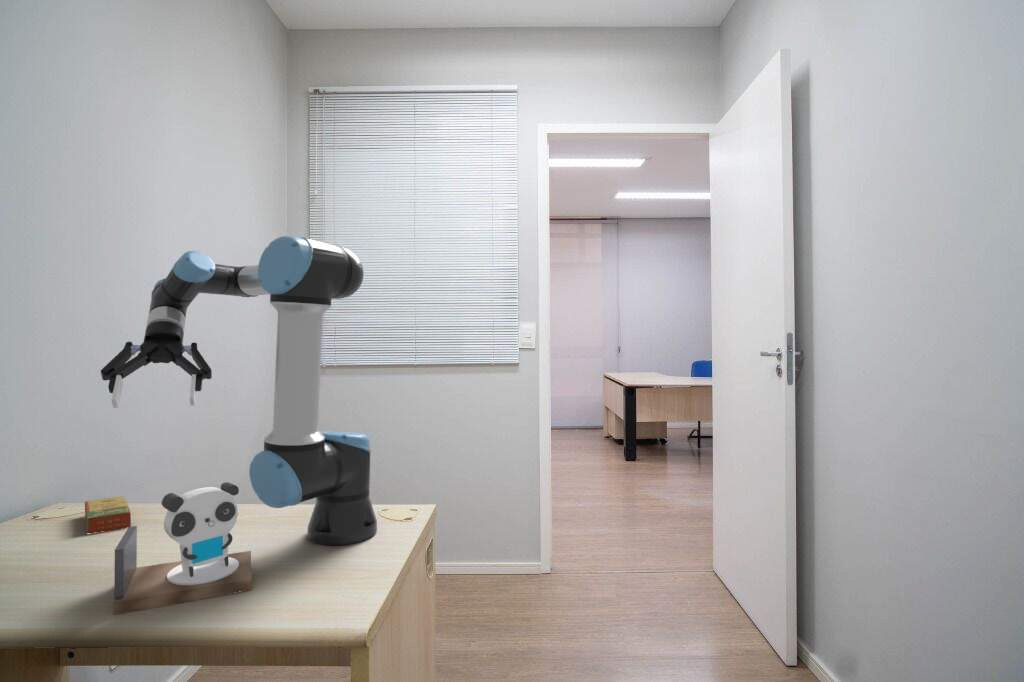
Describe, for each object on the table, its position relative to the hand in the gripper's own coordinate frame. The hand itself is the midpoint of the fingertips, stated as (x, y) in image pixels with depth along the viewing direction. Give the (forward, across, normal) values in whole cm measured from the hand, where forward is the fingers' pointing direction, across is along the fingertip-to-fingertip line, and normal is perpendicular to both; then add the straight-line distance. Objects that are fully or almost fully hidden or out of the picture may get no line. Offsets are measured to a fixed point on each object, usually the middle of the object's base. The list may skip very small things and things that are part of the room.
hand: (154, 402), depth 113 cm
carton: (+5, +12, -40) cm, 42 cm away
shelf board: (+37, -9, -6) cm, 39 cm away
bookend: (+36, +1, -4) cm, 36 cm away
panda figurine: (+36, -10, -4) cm, 38 cm away
